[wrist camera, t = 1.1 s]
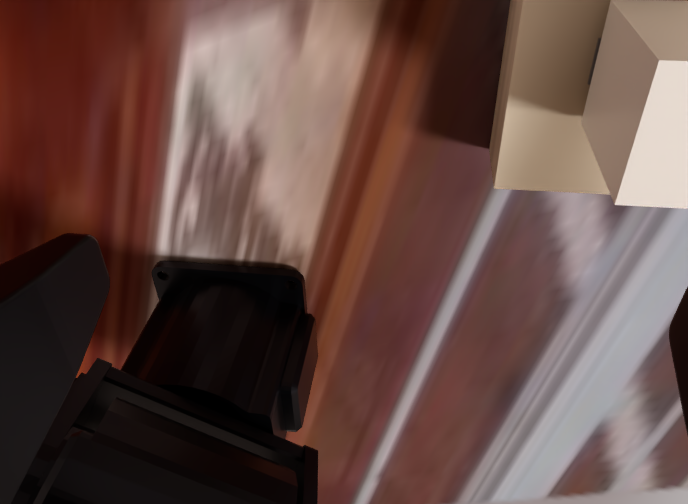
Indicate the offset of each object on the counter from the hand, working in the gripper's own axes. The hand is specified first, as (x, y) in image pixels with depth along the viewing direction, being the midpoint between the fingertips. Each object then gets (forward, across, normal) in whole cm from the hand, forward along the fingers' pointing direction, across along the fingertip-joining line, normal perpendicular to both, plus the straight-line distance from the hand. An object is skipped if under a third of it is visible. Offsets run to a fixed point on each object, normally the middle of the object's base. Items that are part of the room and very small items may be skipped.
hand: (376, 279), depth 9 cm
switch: (+9, -7, 0) cm, 11 cm away
